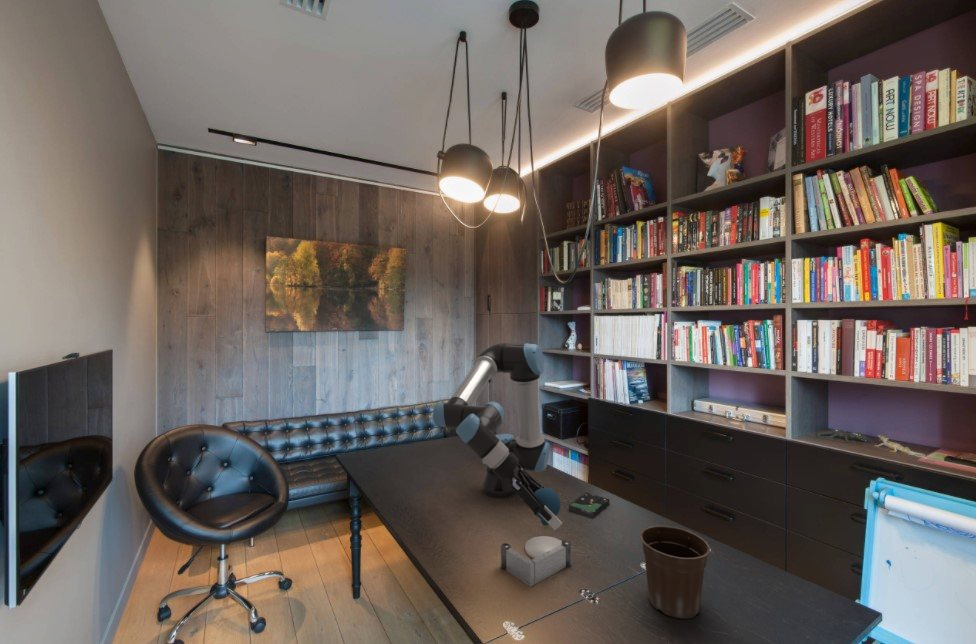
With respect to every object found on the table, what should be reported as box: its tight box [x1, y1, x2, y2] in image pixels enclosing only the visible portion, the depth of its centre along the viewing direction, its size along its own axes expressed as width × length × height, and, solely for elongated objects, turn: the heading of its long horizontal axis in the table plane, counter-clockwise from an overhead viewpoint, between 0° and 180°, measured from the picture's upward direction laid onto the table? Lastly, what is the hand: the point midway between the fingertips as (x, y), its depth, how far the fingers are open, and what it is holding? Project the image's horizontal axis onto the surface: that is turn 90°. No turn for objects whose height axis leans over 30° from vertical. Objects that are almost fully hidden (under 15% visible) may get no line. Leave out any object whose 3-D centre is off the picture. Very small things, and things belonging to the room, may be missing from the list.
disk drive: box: [568, 492, 610, 519], centre depth 163 cm, size 10×3×15 cm
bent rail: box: [500, 539, 572, 588], centre depth 125 cm, size 18×13×6 cm
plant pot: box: [639, 525, 711, 620], centre depth 108 cm, size 16×16×16 cm
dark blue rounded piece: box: [534, 487, 562, 532], centre depth 120 cm, size 8×8×12 cm
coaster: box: [524, 535, 563, 559], centre depth 133 cm, size 13×13×1 cm
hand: (557, 518), depth 119 cm, fingers closed on dark blue rounded piece, 8 cm apart
